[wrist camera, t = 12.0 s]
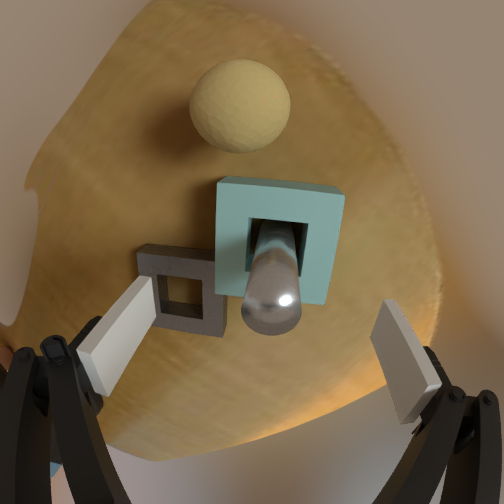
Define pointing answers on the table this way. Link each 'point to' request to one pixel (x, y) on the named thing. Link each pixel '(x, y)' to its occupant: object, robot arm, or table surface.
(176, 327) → the mount
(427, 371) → the robot arm
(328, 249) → the socket
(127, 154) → the table surface
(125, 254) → the table surface
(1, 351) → the egg
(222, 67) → the light bulb
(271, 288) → the pin
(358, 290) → the table surface
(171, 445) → the table surface
